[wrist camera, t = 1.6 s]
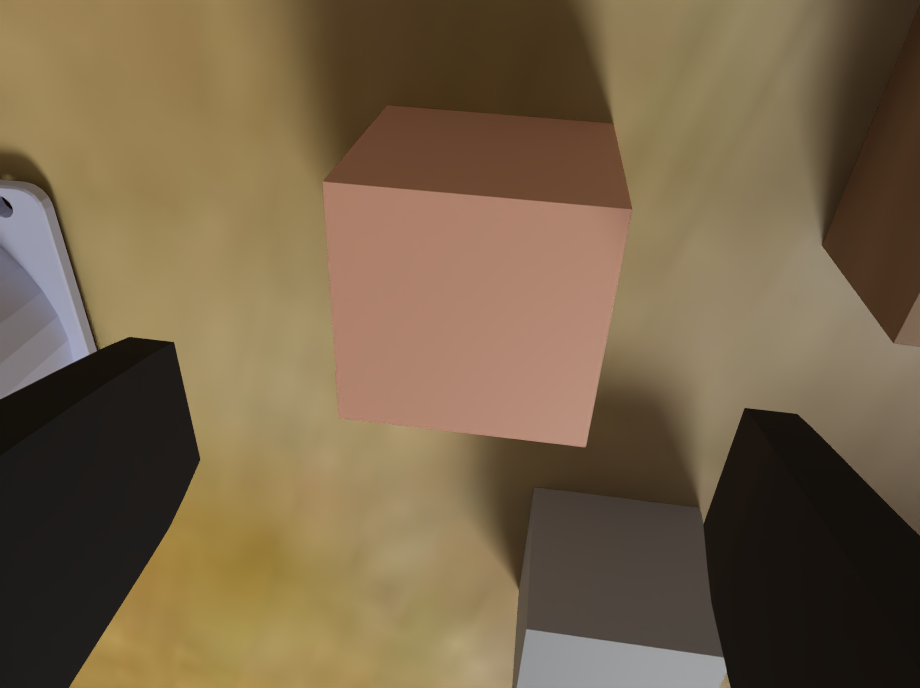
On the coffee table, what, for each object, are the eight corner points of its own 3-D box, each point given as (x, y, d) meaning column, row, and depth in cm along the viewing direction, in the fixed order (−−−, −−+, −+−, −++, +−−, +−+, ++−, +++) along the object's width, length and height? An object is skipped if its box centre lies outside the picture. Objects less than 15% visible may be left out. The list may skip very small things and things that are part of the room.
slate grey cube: (519, 587, 21) (508, 733, 18) (534, 484, 19) (526, 629, 15) (664, 608, 21) (685, 760, 17) (699, 505, 19) (732, 658, 15)
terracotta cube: (390, 298, 16) (338, 418, 13) (387, 104, 14) (322, 181, 10) (580, 317, 16) (585, 447, 12) (613, 122, 13) (632, 209, 10)
